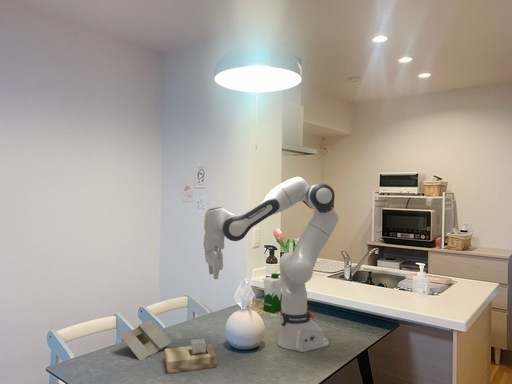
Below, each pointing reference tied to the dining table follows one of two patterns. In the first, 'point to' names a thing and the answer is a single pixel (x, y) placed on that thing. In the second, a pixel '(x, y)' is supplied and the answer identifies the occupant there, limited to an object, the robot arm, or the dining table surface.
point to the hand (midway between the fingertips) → (213, 276)
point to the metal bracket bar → (198, 347)
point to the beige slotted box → (145, 339)
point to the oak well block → (189, 359)
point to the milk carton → (272, 293)
